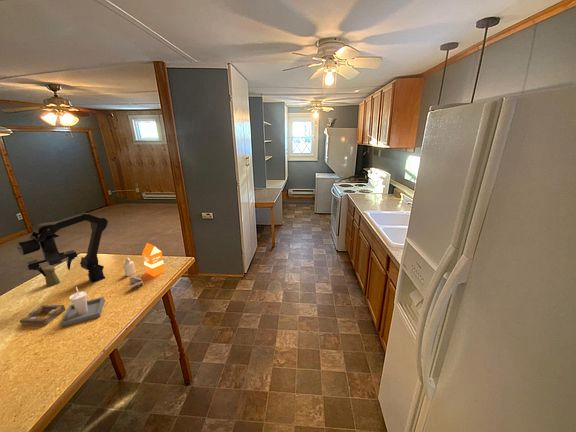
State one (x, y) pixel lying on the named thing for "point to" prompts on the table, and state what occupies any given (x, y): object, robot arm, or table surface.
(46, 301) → the table surface
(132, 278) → the architectural model
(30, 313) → the clip collar
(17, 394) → the table surface
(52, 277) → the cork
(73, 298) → the smoothie
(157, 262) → the orange juice
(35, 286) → the table surface
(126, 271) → the eye dropper bottle
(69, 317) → the tray
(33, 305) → the table surface
